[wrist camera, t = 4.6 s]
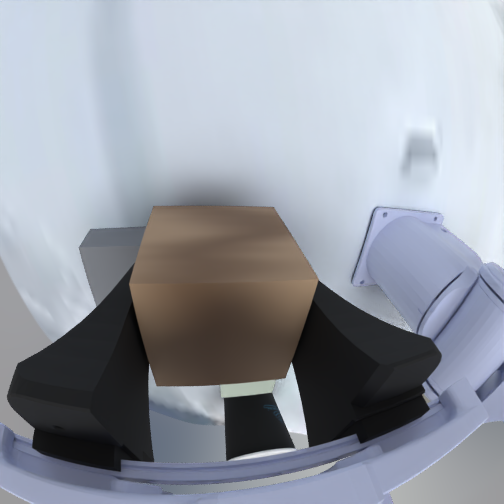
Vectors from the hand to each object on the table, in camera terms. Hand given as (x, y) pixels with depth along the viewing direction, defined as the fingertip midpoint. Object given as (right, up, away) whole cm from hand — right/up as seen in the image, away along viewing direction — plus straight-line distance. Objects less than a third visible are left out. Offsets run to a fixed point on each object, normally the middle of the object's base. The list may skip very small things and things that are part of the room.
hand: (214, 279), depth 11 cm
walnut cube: (0, +1, +1) cm, 2 cm away
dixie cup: (+1, -15, +20) cm, 25 cm away
